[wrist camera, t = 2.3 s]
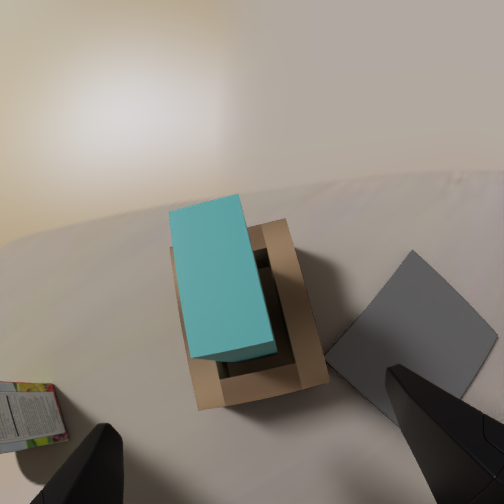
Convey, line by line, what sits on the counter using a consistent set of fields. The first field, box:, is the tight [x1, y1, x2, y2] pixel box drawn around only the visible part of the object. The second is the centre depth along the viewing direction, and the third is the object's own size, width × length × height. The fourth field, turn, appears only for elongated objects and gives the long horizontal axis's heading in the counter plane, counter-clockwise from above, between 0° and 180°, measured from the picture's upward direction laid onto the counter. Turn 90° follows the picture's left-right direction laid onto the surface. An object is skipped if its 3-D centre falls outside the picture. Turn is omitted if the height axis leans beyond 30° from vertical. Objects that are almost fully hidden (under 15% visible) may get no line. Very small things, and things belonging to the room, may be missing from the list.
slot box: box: [170, 218, 330, 411], centre depth 19 cm, size 10×7×4 cm
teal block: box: [169, 194, 278, 363], centre depth 15 cm, size 5×2×11 cm, turn 13°
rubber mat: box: [324, 250, 498, 428], centre depth 18 cm, size 10×10×1 cm
